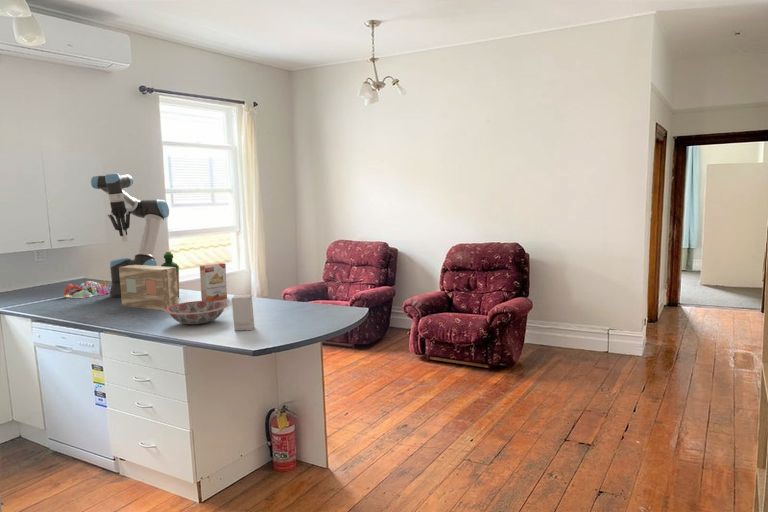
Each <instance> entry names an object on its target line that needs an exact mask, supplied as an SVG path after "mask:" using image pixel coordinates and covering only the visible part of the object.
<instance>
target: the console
mask: <svg viewBox="0 0 768 512" xmlns="http://www.w3.org/2000/svg"><path fill="white" fill-rule="evenodd" d="M119 275H120V287H121V297H120V299H121V306H123V307H130V308H140V309H148V310H157V311H165V309H166V308H167V307H169V306H172V305H175V304H180V303H179V297H178V288H177V275H176V267H162V266H161V265H159V266H158V265H157V266H146V265H129V266H123V267H119ZM126 278H136V288H137V293H129V292H127V287H126ZM147 279H148V280H156V289H157V295H149V294H146V281H145V280H147Z"/></svg>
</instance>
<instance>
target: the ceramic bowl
mask: <svg viewBox="0 0 768 512" xmlns="http://www.w3.org/2000/svg"><path fill="white" fill-rule="evenodd" d="M227 307H229V304H228V302H225V301H222V300H214V301H202V300H194V301H186V302H181V303H179V304H175V305H172V306H169V307H167V308H166V309H165V310H164V313H167V314H169V316H171V318H172V319H173V320H174V321H176V322H177V323H181V324H183V325H200V324H205V323H210V322H212V321H215V320H216V319H217V318H219V317H220V316H221V315H222V314H223V312H224V311H225V309H227Z"/></svg>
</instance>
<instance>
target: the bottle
mask: <svg viewBox="0 0 768 512" xmlns="http://www.w3.org/2000/svg"><path fill="white" fill-rule="evenodd" d="M173 258H174V255H173V253H172V251H170V250H168V251H165V253H164V254H163V259H164V262H163V263H162V264H161V265H160V266H162V267H176V275H177V288H178V298H180V272H179V271H180V270H179V269H180V267H179V264H177V263H176V262H174V261H173Z"/></svg>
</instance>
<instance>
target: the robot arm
mask: <svg viewBox="0 0 768 512" xmlns="http://www.w3.org/2000/svg"><path fill="white" fill-rule="evenodd" d="M90 184H91V187H92V188H93V189H94V190H95V189H96V190H101V191H103V192H104V193H106V194H107V196H108V199H109V200H108V201H109V204H110V208H111V211H110V214H108V215H107V217H108V218H109V219H110V221H111V224H112V226H113V228H114V230H115V231H118V233H119V236H120V237H121V240H122V242H127V241H128V237H127V236H128V231H127V230H128V229H130V225H131V224H130V223H131V222H130V221H131V219H130V218H131V215H132V216H135V217H138V218H140V219H145V225H144V228H143V233H142V236H141V240H140V245H139V249H138V253H137V254H135V255H134V258H133V259H132V258H131V257H130V256H127V257H122V258H115V259H112V260H111V261H110V262H109V268H110V278H111V285H110V286H111V287H110V289H109V291H110V293H109V297H110V298H116V299H117V298H121V287H120V275H119V267H123V266H129V265H146V266H158V263H157V261H156V260H155V257H154V253H155V249H156V245H157V240H158V235H159V231H160V226H161V224H162V223H164V220H165V219H167V218H169V216H170V208H169V204H168V202H167V201H166V200H164V199H137V198H135V197H132V196H130V195H129V194H128V193H127V192H126V191H125V190H123V189H125V188H130V187H132V186H133V184H134V179H133V177H132V175H130V174H127V173H125V174H124V173H123V174H119V172H114V173H107V174H105V175H99V174H98V175H94V176H92V177H91V180H90Z"/></svg>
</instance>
